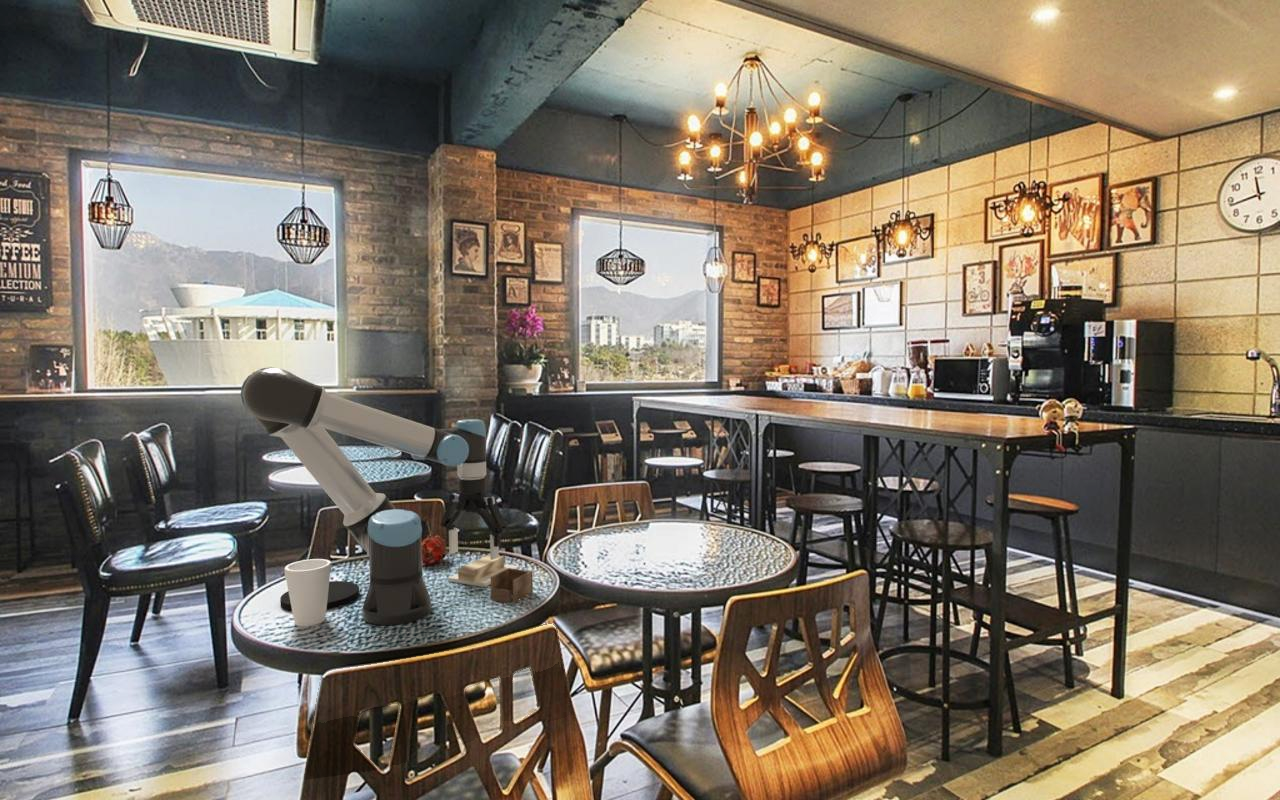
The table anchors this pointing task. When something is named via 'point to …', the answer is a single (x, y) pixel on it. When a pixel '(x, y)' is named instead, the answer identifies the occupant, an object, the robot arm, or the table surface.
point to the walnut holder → (511, 585)
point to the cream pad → (483, 581)
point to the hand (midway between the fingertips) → (473, 555)
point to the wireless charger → (331, 595)
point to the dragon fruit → (433, 550)
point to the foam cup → (308, 590)
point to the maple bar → (480, 568)
